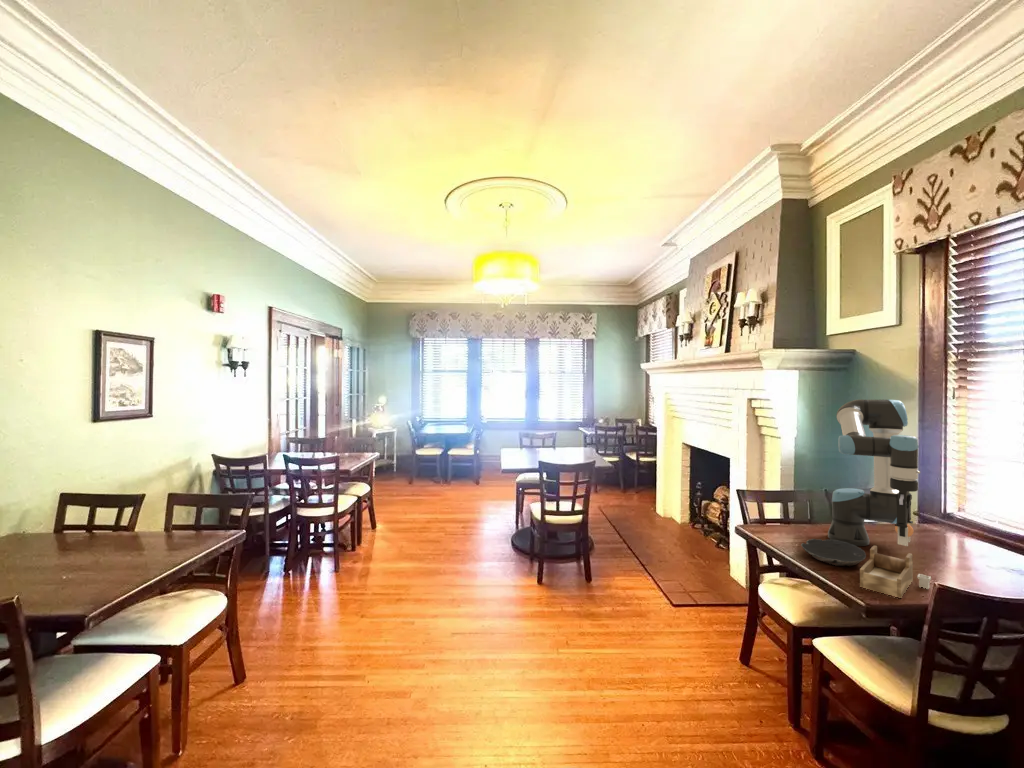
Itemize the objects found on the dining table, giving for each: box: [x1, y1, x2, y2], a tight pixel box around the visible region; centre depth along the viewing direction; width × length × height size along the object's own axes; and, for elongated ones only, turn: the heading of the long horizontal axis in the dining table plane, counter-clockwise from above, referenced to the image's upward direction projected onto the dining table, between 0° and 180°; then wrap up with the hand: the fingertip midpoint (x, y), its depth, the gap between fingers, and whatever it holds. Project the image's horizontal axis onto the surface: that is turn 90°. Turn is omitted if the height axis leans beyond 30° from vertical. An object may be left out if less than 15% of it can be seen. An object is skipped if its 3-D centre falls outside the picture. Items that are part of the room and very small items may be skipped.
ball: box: [894, 523, 915, 538], centre depth 158 cm, size 5×5×5 cm
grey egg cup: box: [916, 573, 932, 590], centre depth 155 cm, size 3×3×4 cm
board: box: [801, 538, 867, 567], centre depth 179 cm, size 22×22×5 cm
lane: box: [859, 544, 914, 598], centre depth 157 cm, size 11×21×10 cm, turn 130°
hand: (903, 542), depth 158 cm, fingers closed on ball, 5 cm apart
